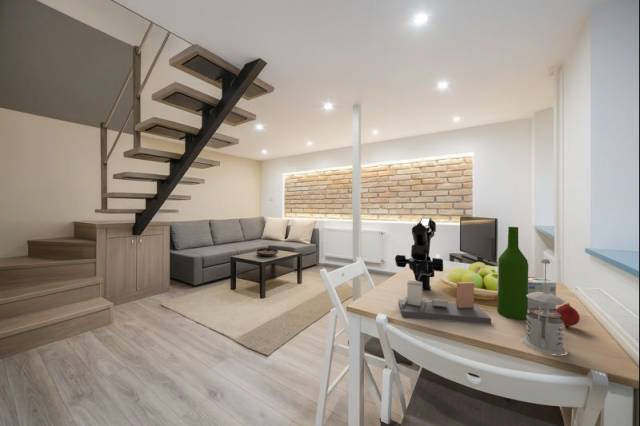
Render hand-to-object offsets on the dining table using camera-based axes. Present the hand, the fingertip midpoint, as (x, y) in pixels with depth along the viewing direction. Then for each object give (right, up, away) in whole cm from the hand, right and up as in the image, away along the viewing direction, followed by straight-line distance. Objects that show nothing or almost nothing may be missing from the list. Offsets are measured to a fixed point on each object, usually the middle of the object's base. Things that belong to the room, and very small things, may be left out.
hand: (416, 280), depth 101 cm
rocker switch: (+6, -8, -7) cm, 13 cm away
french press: (+24, -11, -30) cm, 40 cm away
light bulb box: (+48, -11, 0) cm, 49 cm away
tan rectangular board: (+15, -8, -8) cm, 19 cm away
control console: (+6, -10, -7) cm, 14 cm away
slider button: (-2, -8, -4) cm, 10 cm away
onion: (+43, -11, -18) cm, 48 cm away
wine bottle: (+32, -11, -8) cm, 35 cm away
